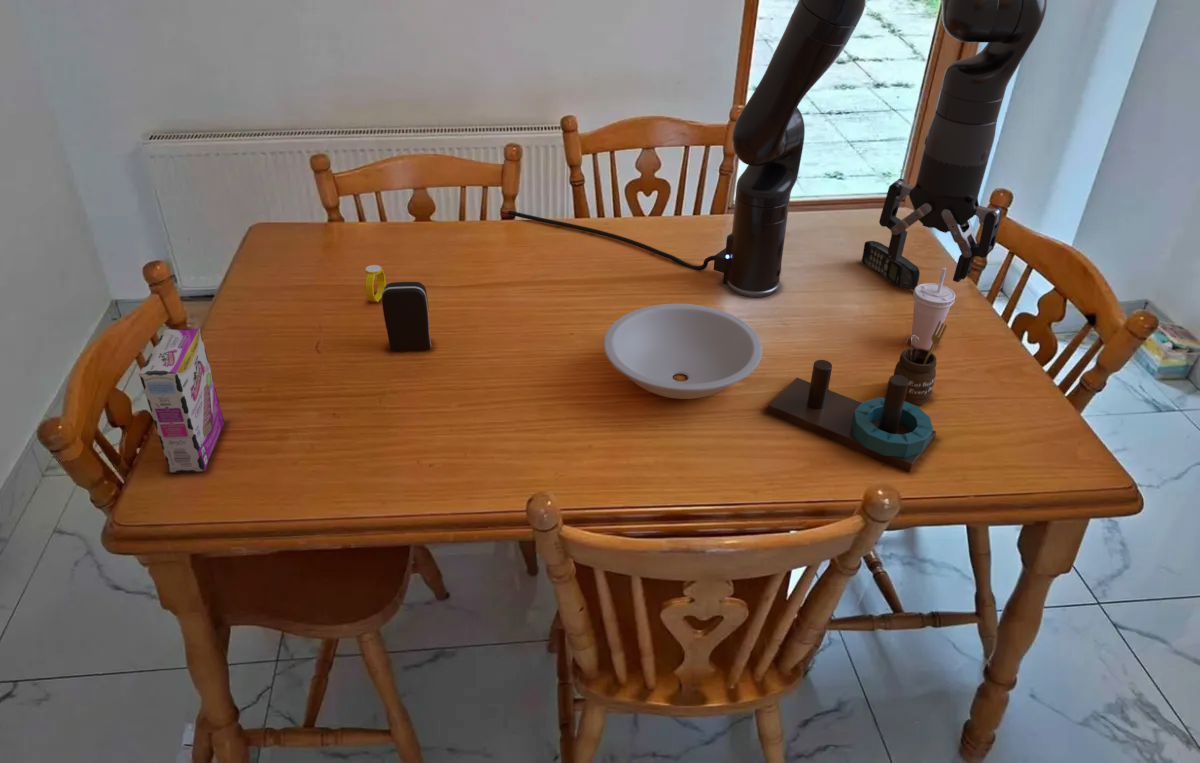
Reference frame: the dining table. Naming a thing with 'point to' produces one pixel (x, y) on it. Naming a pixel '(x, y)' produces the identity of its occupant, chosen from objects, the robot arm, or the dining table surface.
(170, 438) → the candy bar box
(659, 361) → the vessel sink basin
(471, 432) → the dining table surface
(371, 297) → the watch
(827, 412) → the rack
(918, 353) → the utensil holder
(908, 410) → the teal faceted ring
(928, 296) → the smoothie
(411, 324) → the battery charger
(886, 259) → the mobile phone
